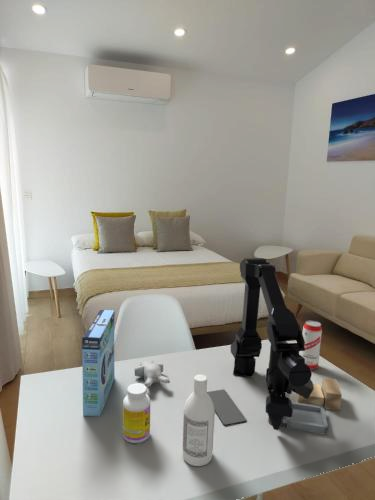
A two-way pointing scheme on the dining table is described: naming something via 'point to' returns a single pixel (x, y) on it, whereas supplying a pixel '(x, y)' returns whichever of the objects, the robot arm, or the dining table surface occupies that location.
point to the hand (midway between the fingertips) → (275, 418)
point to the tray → (307, 418)
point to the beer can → (312, 343)
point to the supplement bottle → (136, 414)
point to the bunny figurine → (151, 373)
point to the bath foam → (198, 424)
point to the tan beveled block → (313, 397)
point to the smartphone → (226, 408)
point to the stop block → (331, 394)
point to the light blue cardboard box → (98, 362)
